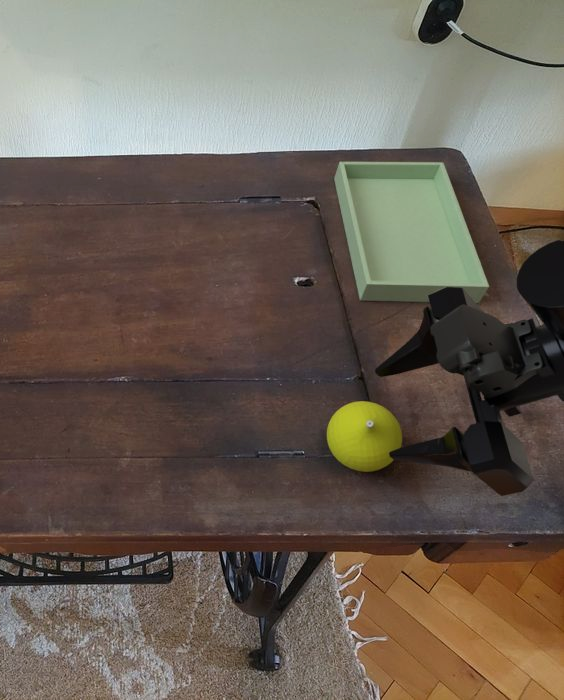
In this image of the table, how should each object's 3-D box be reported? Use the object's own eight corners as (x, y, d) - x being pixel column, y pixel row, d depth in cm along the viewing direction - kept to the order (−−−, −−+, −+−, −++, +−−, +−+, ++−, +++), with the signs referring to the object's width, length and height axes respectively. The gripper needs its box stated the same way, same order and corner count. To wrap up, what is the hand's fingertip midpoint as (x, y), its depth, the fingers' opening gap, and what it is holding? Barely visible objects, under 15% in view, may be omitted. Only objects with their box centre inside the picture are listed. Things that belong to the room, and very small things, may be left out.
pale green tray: (435, 179, 93) (443, 162, 91) (478, 303, 80) (489, 286, 77) (334, 178, 95) (339, 161, 92) (359, 300, 81) (366, 284, 79)
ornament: (324, 481, 67) (350, 435, 59) (315, 422, 71) (338, 371, 63) (395, 484, 67) (431, 437, 59) (382, 424, 71) (413, 372, 63)
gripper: (497, 217, 54) (327, 297, 64) (567, 412, 43) (349, 471, 53) (549, 286, 59) (385, 349, 69) (622, 473, 48) (416, 516, 58)
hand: (383, 413), depth 62 cm, fingers open, 9 cm apart
